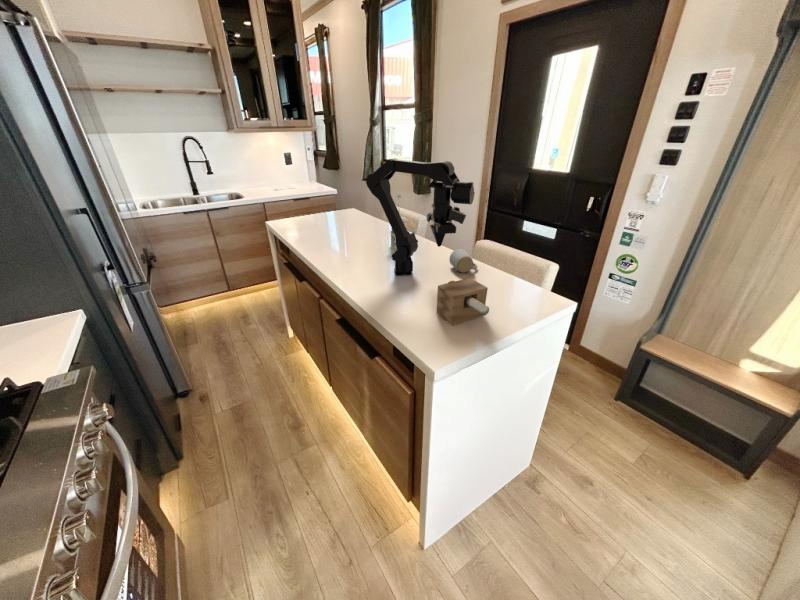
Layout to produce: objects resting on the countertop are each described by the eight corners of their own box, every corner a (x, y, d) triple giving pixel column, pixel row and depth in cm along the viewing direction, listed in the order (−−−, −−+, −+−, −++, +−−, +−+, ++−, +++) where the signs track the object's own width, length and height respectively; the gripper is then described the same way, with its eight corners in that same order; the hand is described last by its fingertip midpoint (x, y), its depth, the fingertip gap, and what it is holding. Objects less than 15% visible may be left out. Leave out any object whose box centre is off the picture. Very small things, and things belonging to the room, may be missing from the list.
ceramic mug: (456, 274, 125) (458, 256, 122) (448, 267, 132) (450, 249, 129) (480, 272, 128) (483, 254, 124) (471, 265, 135) (473, 247, 131)
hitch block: (436, 313, 99) (437, 285, 94) (467, 304, 104) (470, 277, 99) (451, 325, 93) (454, 296, 88) (483, 315, 97) (487, 287, 93)
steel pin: (443, 297, 100) (444, 282, 97) (456, 294, 102) (458, 279, 99) (476, 321, 87) (478, 305, 85) (491, 317, 89) (493, 300, 87)
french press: (393, 253, 147) (392, 197, 135) (384, 245, 157) (383, 192, 145) (412, 250, 151) (413, 195, 139) (402, 243, 160) (402, 191, 148)
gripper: (473, 206, 101) (468, 253, 108) (456, 196, 117) (453, 237, 124) (439, 208, 100) (436, 255, 107) (427, 197, 116) (425, 238, 123)
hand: (439, 246), depth 115 cm, fingers closed
